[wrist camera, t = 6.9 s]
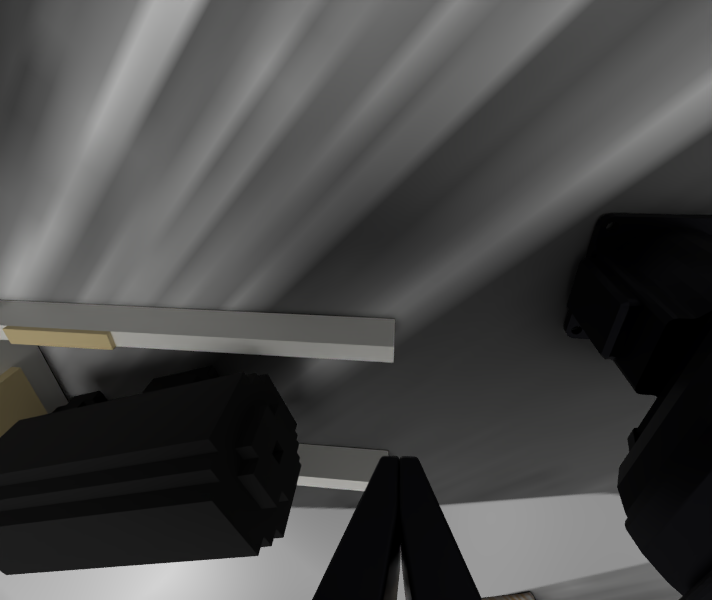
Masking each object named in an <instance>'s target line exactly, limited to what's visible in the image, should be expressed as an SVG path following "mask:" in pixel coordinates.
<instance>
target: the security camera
mask: <svg viewBox="0 0 712 600" xmlns="http://www.w3.org/2000/svg"><path fill="white" fill-rule="evenodd" d="M296 426H297V423H296V422H295V420H294V418H293V417H292V415H291V413H290V411H289V410H288V408H287V406H286V405H285V403H284V401H283V399H282V398H281V396H280V394H279V393H278V391H277V389H276V387H275V386H274V384H273V382H272V381H271V379H270V377H269V375H268V374H265V375H260V376H258V375H257V373H254V374H249V375H245V373H244V372H241V373H236V374H231V375H227V376H222V377H219V375H218V374H217V372H216V371H215V369H214V368H213V366H210V367H205V368H201V369H196V370H192V371H187V372H183V373H178V374H174V375H169V376H165V377H161V378H156V379H153V380H152V381H151V383H150V384H149V385H148V386H147V388H146V389H145V390H144V391H143V393H142V394H138V395H134V396H129V397H124V398H120V399H115V400H110V401H108V400H107V399H106V398H105V397H104V396H103V395H102V393H101V392H100V391H98V392H94V393H89V394H85V395H80V396H76V397H74V398H73V399H72V400H71V401H70V402H69V403H68V404H67V405H64V406H59V407H57V408H56V409H55V410H54V411H53V412H52V413H50V414H45V415H41V416H36V417H31V418H27V419H22V420H19V421H18V422H16V423H15V424H14V425H13V426H12V427H11V428H10V429H9V430H8V431H7V432H6V433H5V434H3V435H2V436H1V437H0V571H1V572H3V573H4V574H6V575H12V574H25V573H37V572H50V571H65V570H77V569H90V568H104V567H115V566H129V565H143V564H155V563H170V562H182V561H195V560H209V559H222V558H235V557H248V556H258V555H259V551H260V548H261V547H267V546H272V542H273V539H274V538H283V537H284V533H285V529H286V525H287V521H288V516H289V513H290V509H291V505H292V501H293V497H294V493H295V489H296V485H297V481H298V477H299V473H300V470H301V466H302V465H301V463H300V462H299V460H300V457H299V455H298V453H297V451H298V447H299V443H298V442H297V440H296V439H297V433H296V432H295V429H296Z"/></svg>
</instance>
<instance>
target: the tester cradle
mask: <svg viewBox="0 0 712 600" xmlns="http://www.w3.org/2000/svg"><path fill="white" fill-rule="evenodd" d="M394 337H395V319H384V318H364V317H343V316H322V315H302V314H281V313H260V312H240V311H219V310H198V309H177V308H157V307H136V306H115V305H95V304H74V303H53V302H33V301H12V300H0V437H1V436H2V435H3V434H5V433H6V432H7V431H8V430H9V429H10V428H11V427H12V426H13V425H14V424H15V423H16V422H18V421H19V420H22V419H27V418H31V417H36V416H41V415H45V414H50V413H52V412H53V411H54V410H55V409H56V408H57V407H59V406H64V405H67V404H68V401H67V399H66V397H65V396H64V394H63V392H62V390H61V388H60V386H59V385H58V383H57V381H56V379H55V377H54V375H53V373H52V372H51V370H50V368H49V366H48V364H47V362H46V361H45V359H44V357H43V355H42V353H41V351H40V350H39V348H38V346H37V345H40V346H57V347H74V348H91V349H107V350H113V349H114V348H115V347H116V346H118V347H135V348H152V349H169V350H186V351H203V352H220V353H237V354H254V355H271V356H288V357H305V358H322V359H339V360H356V361H373V362H390V363H393V361H394ZM297 453H298V455H299V457H300V460H299V462H300V463H301V465H302V466H301V470H300V473H299V477H298V481H297V485H302V486H313V487H324V488H335V489H346V490H357V491H365V489H366V487H367V485H368V483H369V480H370V478H371V476H372V474H373V472H374V470H375V468H376V466H377V464H378V462H379V460H380V458H381V457H382V456H388V451H385V450H372V449H360V448H347V447H335V446H322V445H310V444H299V447H298V451H297Z"/></svg>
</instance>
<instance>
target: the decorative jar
mask: <svg viewBox="0 0 712 600" xmlns="http://www.w3.org/2000/svg"><path fill="white" fill-rule="evenodd" d="M481 599H482V600H535V598H534V597H533V595H532V594H531V593H530V592H527V593H521V594H513V595H502V596H495V597H485V598H481Z"/></svg>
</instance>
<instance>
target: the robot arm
mask: <svg viewBox="0 0 712 600" xmlns="http://www.w3.org/2000/svg"><path fill="white" fill-rule="evenodd" d="M611 222H615V224H614V226H613V227H612V228H611V229H608V230H606V227H607V225H608V224H609V223H611ZM567 307H568V308H569V311H568V314H567V317H566V320H565V323H564V330H565V332H566V333H567V335H568V336H569V337H571V338H581V339H590V340H591V342H592V343H593V344H594V346H595V347H596V349H597V350H598V352H599V353H600V354H601V355H602V357H603V358H604V359H611V360H613V361H614V362H615V364H616V365H617V367H618V368H619V369H620V371H621V372H622V374H623V375H624V376H625V378H626V379H627V380H628V382H629V383H630V385H631V386H632V387H633V389H634V390H635V391H636V393H638V394H644V395H654V396H656V397H657V399H656V401H655V402H654V404H653V405H652V407H651V408H650V410H649V411H648V413H647V414H646V416H645V417H644V419H643V421H642V422H641V424H640V425H639V427H638V428H634V429H633V430H632V432H631V433H630V435H629V436H628V446H629V453H628V455H627V456H626V458H625V459H624V461H623V462H622V464H621V465H620V467H619V475H618V485H617V488H618V491H619V494H620V497H621V500H622V504H623V507H624V510H625V513H626V515H627V517H628V518H627V520H626V521H625V527H626V530H627V531H628V533H629V534H630V536H631V537H632V539H633V540H634V542H635V543H636V545H637V546H638V548H639V549H640V551H641V552H642V554H643V555H644V556H645V557H646V558H647V559H648V560H649V562H650V563H651V564H652V565H653V566H654V567H655V568H656V570H657V571H658V572H659V573H660V574H661V575H662V576H663V578H664V579H665V580H666V581H667V582H668V583H669V584H670V585H671V586H672V587H673V588H675V589H676V590H677V591H678V592H679V593H680V594H682V595H683V596H682V597H681V598H680V599H679V600H712V216H706V215H661V214H616V213H611V214H606V215H604V216H602V217H601V218H600V219H599V220H598V222H597V224H596V227H595V230H594V233H593V237H592V240H591V243H590V246H589V249H588V252H587V255H586V258H584V259H583V260H582V261H581V262H580V265H579V268H578V271H577V274H576V278H575V281H574V284H573V287H572V290H571V293H570V296H569V300H568V303H567ZM575 326H579V327H578V328H577V329H575V330H572V329H573V328H574V327H575ZM400 559H401V560H402V571H403V580H404V589H405V597H406V600H482V599H481V596H480V594H479V592H478V590H477V588H476V585H475V583H474V581H473V579H472V577H471V575H470V572H469V570H468V568H467V565H466V563H465V561H464V559H463V557H462V554H461V552H460V550H459V548H458V545H457V543H456V541H455V539H454V537H453V534H452V532H451V530H450V528H449V525H448V523H447V521H446V519H445V517H444V514H443V512H442V510H441V508H440V506H439V503H438V501H437V499H436V497H435V494H434V492H433V490H432V488H431V486H430V483H429V481H428V479H427V477H426V474H425V472H424V470H423V468H422V466H421V463H420V461H419V459H418V458H417V457H412V456H402V457H400V461H399V457H397V456H382V457H381V458H380V460H379V462H378V464H377V466H376V468H375V470H374V472H373V474H372V476H371V478H370V480H369V483H368V485H367V487H366V489H365V491H364V493H363V495H362V497H361V499H360V501H359V503H358V505H357V508H356V510H355V512H354V514H353V516H352V518H351V520H350V522H349V524H348V526H347V529H346V531H345V533H344V535H343V537H342V539H341V541H340V543H339V545H338V547H337V549H336V551H335V553H334V555H333V558H332V560H331V562H330V564H329V566H328V568H327V570H326V572H325V574H324V576H323V578H322V580H321V582H320V585H319V587H318V589H317V591H316V593H315V595H314V597H313V599H312V600H397V591H398V581H399V572H400Z"/></svg>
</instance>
